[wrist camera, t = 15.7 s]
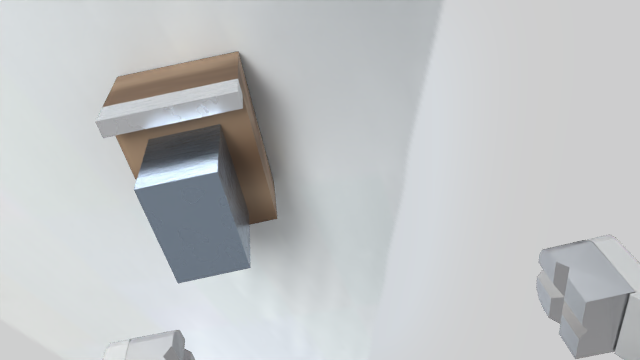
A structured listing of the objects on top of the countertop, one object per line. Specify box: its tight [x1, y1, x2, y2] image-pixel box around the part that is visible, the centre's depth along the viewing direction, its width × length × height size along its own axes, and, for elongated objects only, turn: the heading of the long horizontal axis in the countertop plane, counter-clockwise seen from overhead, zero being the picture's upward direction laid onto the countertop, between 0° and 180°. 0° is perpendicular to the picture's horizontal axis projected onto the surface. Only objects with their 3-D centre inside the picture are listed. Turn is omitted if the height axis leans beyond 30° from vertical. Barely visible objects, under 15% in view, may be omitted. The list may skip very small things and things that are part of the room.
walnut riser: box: [95, 52, 277, 225], centre depth 38 cm, size 12×9×7 cm
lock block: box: [134, 124, 250, 283], centre depth 35 cm, size 8×5×6 cm, turn 10°
